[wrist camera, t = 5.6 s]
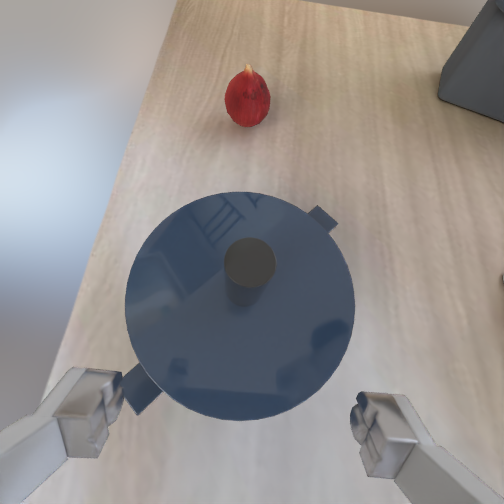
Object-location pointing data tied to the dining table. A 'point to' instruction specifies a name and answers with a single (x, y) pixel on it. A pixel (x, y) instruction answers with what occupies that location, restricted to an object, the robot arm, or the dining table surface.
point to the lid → (239, 306)
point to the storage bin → (478, 65)
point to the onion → (247, 98)
